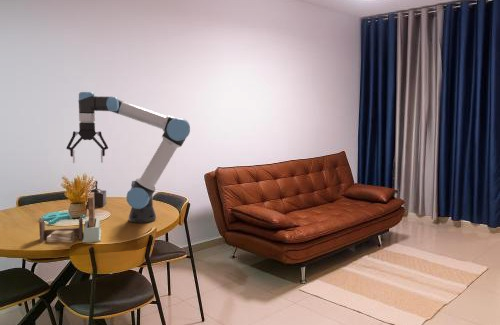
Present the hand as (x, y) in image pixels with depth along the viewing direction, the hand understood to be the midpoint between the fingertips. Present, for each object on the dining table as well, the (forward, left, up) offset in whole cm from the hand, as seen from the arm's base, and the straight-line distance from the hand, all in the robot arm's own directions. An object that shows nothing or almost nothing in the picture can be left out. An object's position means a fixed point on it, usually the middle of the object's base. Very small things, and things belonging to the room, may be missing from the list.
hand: (88, 162), depth 210 cm
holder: (-2, +18, -35) cm, 39 cm away
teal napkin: (+17, -23, -35) cm, 45 cm away
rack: (+12, +18, -35) cm, 41 cm away
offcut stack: (+11, +21, -35) cm, 43 cm away
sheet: (-2, +18, -34) cm, 38 cm away
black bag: (-1, -50, -35) cm, 61 cm away
